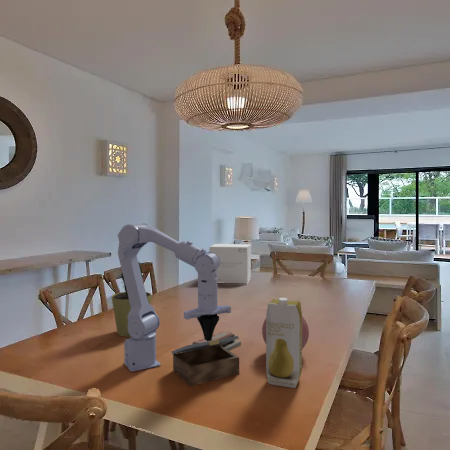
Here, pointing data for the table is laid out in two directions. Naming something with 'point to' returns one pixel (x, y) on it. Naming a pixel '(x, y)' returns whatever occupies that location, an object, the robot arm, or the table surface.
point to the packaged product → (222, 335)
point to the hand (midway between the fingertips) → (208, 339)
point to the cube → (233, 262)
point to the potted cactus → (124, 308)
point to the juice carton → (284, 342)
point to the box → (205, 364)
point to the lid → (204, 344)
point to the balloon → (304, 332)
